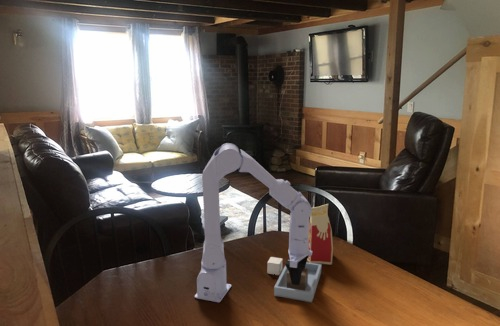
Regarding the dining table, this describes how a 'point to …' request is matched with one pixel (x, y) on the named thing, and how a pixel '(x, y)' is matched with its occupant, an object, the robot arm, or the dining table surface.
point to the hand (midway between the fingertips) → (297, 278)
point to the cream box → (274, 266)
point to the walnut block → (302, 283)
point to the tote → (295, 294)
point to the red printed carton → (320, 236)
